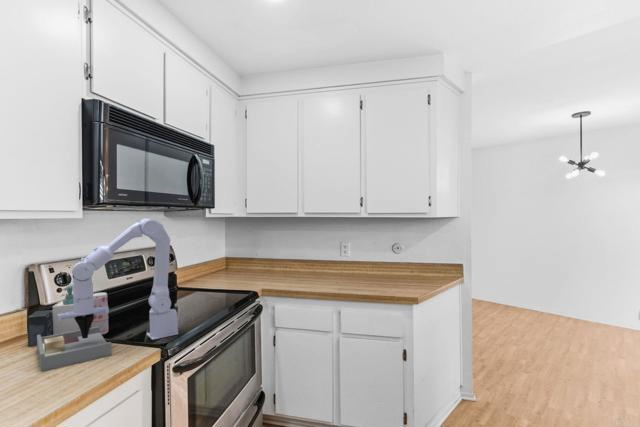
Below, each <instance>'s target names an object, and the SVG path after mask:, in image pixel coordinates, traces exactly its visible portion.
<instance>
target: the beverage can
mask: <svg viewBox="0 0 640 427" xmlns="http://www.w3.org/2000/svg"><path fill="white" fill-rule="evenodd" d="M93 302H94V308H95V307H105V306H108V307H109V304H108V293H107V292H96V293H93ZM98 326H99V327H100V333H101V335H102V336H103V335H105V334H107V333H108V332H109V313H100V314H95V315H94V320H93V322H92V324H91V326H90V328H93V327H98Z"/></svg>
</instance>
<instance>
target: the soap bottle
mask: <svg viewBox="0 0 640 427" xmlns="http://www.w3.org/2000/svg"><path fill="white" fill-rule="evenodd" d="M73 285H74V284H68V285H67V286H66V287H64V288H63V289H64V291H66V293H67V294H66V295H65V298H63V299H62V300H60V301H58V302H57V303H56V304H54V305H52V310H53V335H56V334H61V333H66V332H72V331H77V330H80V328H79V326H78V324H77V322H76V321H75V319H74V318H72V319H66V320H62V321H58V314H62V313H66V312H71V311H74V301H73ZM83 317H84V316H83Z"/></svg>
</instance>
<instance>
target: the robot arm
mask: <svg viewBox="0 0 640 427" xmlns="http://www.w3.org/2000/svg"><path fill="white" fill-rule="evenodd" d="M163 225H164V224H162V223H161V222H160V221H159V220H157V219H155V218H149V217H143V218H141V219H140V220H139V221H137V222H135V223H133V224H132V225H130V226H129V227H128V228H126V230H124V231H123V232H122V233H121V234H119V235H118V236H117V237H115V239H114V240H112V241H110V242H109V244H107V245H99V246H95V247H94V248H93V249H92V250H93V251H91V253H89V254H87V256H85V257H81V259H80V260H81V261H79V262H77V263H75V264H74V265H73V267H72V269H71V274H72V275H73V276H72V277H73V279H72V282H73V284H72V285H73V291H72V294H73V301H74V311H71V312H66V313H62V314H58V321H62V320H66V319H72V318H74V319H75V321H76V322H77V324H78V326H79V328H80V330H81V334H82V338H83V339H84V338H88V332H89V329H90V328H91V324H92V322H93V320H94V315H95V314H100V313H108V314H109V313H110V311H109V310H110V308H109V305H108V306H105V307H95V308H94V302H93V294H94V283H93V275H94V272H95V271H98V270H100V269H101V268H103V266H104V265H106V264H107V263H108V262H109V261H111V260H112V259H113V258H114V253H115V252H116V251H118V250H119V249H120V248H122V247H123V246H124V245H126V244H127V243H129V242H130V241H131V240H132V239H136V238H141V237H143V235H144V236H146V237H148V238H149V239H150V240H152V242H154V243H155V250H154V251H155V252H154V265H153V266H154V268H153V270H154V271H153V272H154V273H153V283H152V288H151V292H150V295H149V297H148V305H149V306H150V307H151V308H150V309H149V312H148V313H149V332H146V336H147V337H148V338H150V339H151V340H152V341H154V340H159V339H163V338H167V337H172V336H175V335H179V327H178V326H179V323H178V322H179V319H178V317H179V316H178V312H177V310H176V309H175V308H171V306H172V301H171V298H170V290H169V287H168V285H169V267H170V254H171V253H170V251H171V250H170V249H171V238H170V236H169V235H168V233H167V231H166V229H165V228H164V226H163ZM83 316H84V317H83Z"/></svg>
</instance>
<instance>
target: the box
mask: <svg viewBox="0 0 640 427" xmlns="http://www.w3.org/2000/svg"><path fill="white" fill-rule="evenodd" d="M37 335H41V337H45V336H50V335H53V309H47V310H35V311H34V312H32V313H31V314H30V315H28V316H27V347H29V348H30V347H37Z"/></svg>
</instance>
